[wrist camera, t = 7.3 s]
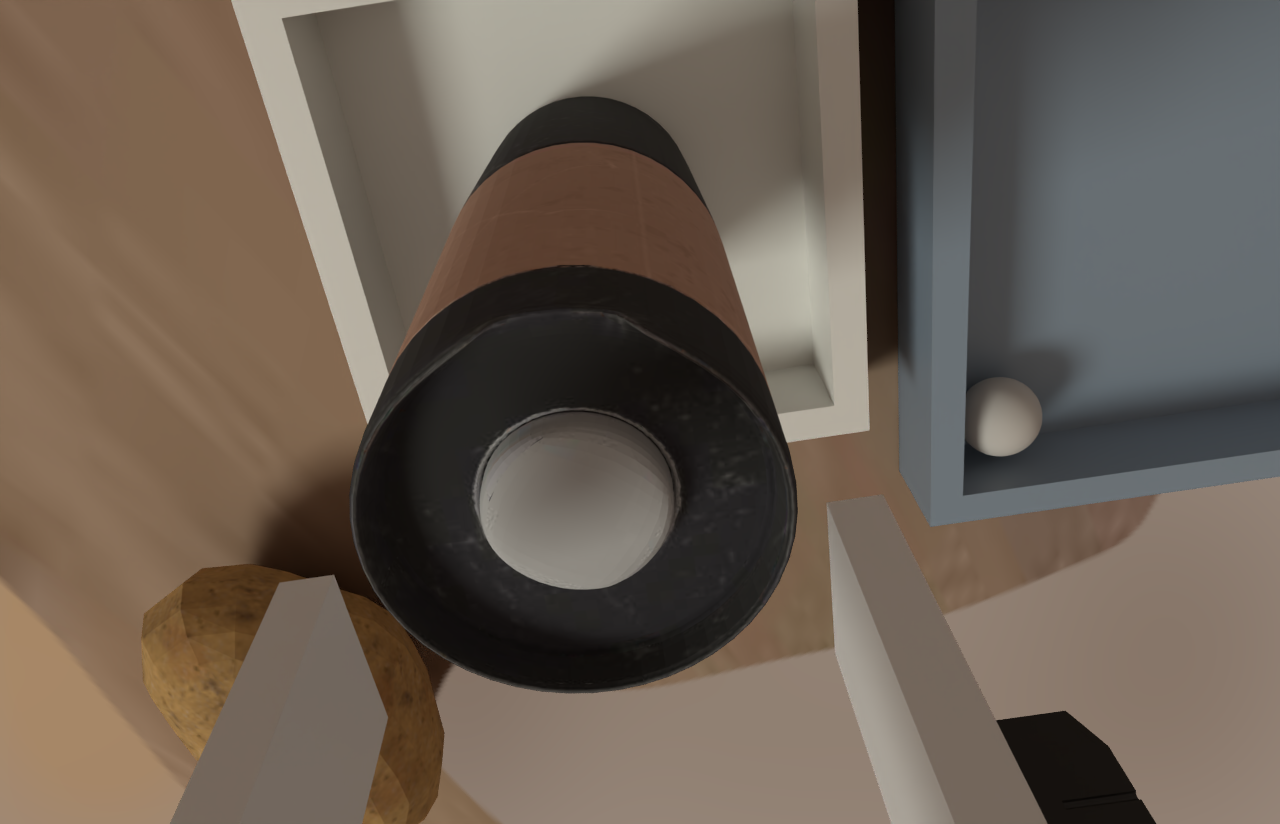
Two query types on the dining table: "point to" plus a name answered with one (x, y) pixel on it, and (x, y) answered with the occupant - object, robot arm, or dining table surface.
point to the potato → (217, 646)
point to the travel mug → (577, 423)
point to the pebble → (1001, 416)
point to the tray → (565, 68)
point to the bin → (1088, 245)
